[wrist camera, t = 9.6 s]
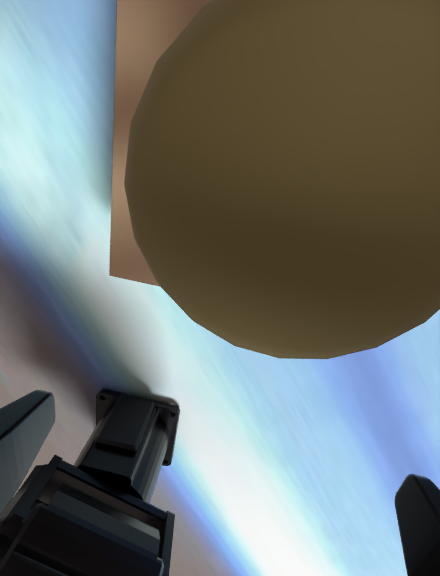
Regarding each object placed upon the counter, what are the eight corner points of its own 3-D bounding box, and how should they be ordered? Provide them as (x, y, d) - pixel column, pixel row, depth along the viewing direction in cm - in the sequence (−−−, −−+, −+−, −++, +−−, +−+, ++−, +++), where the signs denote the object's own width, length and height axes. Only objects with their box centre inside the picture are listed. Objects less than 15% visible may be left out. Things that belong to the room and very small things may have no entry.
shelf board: (376, 322, 17) (384, 334, 16) (119, 266, 18) (109, 275, 17) (533, -25, 11) (562, -42, 10) (133, -92, 12) (120, -115, 11)
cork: (177, 165, 14) (-37, 234, 4) (278, 28, 12) (343, -578, 2) (279, 257, 15) (302, 485, 5) (391, 149, 13) (819, 194, 3)
